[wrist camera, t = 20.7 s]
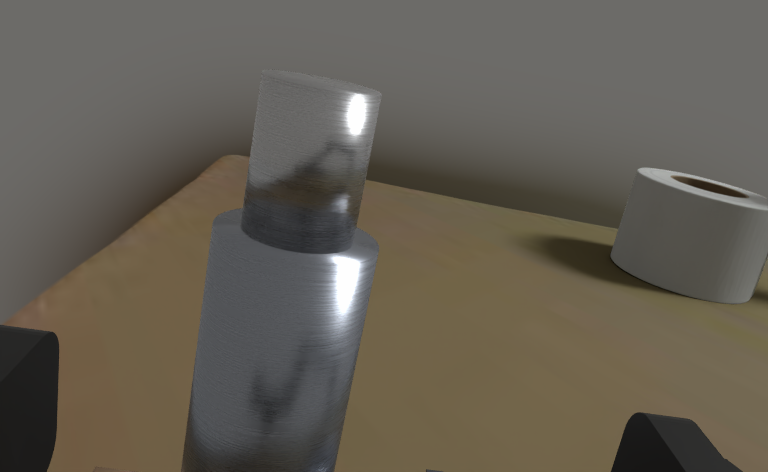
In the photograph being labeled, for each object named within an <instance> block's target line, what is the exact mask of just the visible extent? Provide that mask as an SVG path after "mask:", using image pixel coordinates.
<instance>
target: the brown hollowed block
mask: <svg viewBox="0 0 768 472" xmlns="http://www.w3.org/2000/svg"><path fill="white" fill-rule="evenodd" d="M93 472H134V471H126V470H119V469H111V468H103V467H95V469H94V471H93Z"/></svg>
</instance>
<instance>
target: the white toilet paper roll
mask: <svg viewBox="0 0 768 472" xmlns="http://www.w3.org/2000/svg"><path fill="white" fill-rule="evenodd" d="M610 256H611V259H612V260H613V262H614V263H615V264H616V265H617V266H619V267H620V268H621V269H623V270H624V271H626V272H628V273H630V274H631V275H633V276H635V277H637V278H639V279H641V280H643V281H645V282H648V283H650V284H652V285H655V286H658V287H660V288H663V289H666V290H669V291H672V292H675V293H678V294H681V295H685V296H688V297H692V298H696V299H701V300H705V301H711V302H717V303H725V304H740V303H745V302H747V301H749V300H750V298H751V296H753V294H754V291H755V289H756V286H757V284H758V281H759V279H760V276H761V274H762V271H763V268H764V265H765V262H766V260H767V257H768V198H766V197H763V196H761V195H758V194H755V193H752V192H750V191H747V190H744V189H741V188H737V187H734V186H731V185H728V184H724V183H720V182H717V181H713V180H709V179H706V178H701V177H698V176H693V175H689V174H684V173H679V172H674V171H668V170H662V169H653V168H640V169H638V170H637V172H636V176H635V179H634V182H633V185H632V188H631V192H630V195H629V198H628V201H627V204H626V207H625V210H624V214H623V217H622V220H621V223H620V226H619V229H618V232H617V236H616V239H615V242H614V245H613V248H612V251H611V254H610Z"/></svg>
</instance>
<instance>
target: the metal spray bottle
mask: <svg viewBox="0 0 768 472" xmlns="http://www.w3.org/2000/svg"><path fill="white" fill-rule="evenodd" d="M381 95H382V94H381V92H379V91H376V90H374V89H371V88H368V87H365V86H361V85H357V84H353V83H349V82H345V81H341V80H336V79H331V78H326V77H321V76H315V75H310V74H303V73H297V72H289V71H281V70H263V71H262V76H261V83H260V90H259V97H258V104H257V112H256V118H255V125H254V133H253V140H252V147H251V154H250V161H249V168H248V175H247V183H246V190H245V197H244V204H243V208H241V209H235V210H230V211H227V212H224V213H222V214H220V215H218V216H217V217H216V218H215V219H214V221H213V226H212V233H211V241H210V249H209V257H208V265H207V272H206V280H205V288H204V296H203V304H202V311H201V319H200V327H199V335H198V343H197V350H196V358H195V366H194V374H193V382H192V390H191V397H190V405H189V413H188V421H187V429H186V436H185V444H184V452H183V460H182V468H181V472H334V469H335V464H336V459H337V454H338V449H339V444H340V440H341V435H342V430H343V425H344V420H345V415H346V410H347V405H348V400H349V395H350V390H351V385H352V380H353V375H354V370H355V365H356V360H357V356H358V351H359V346H360V341H361V336H362V331H363V326H364V321H365V316H366V311H367V306H368V301H369V296H370V291H371V286H372V281H373V277H374V272H375V267H376V262H377V257H378V252H379V245H378V243H377V242H376V240H375V239H374V238H373V237H372V236H370V235H369V234H368V233H366V232H364V231H363V230H361V229H359V228H357V221H358V216H359V211H360V206H361V200H362V195H363V190H364V185H365V179H366V174H367V169H368V163H369V158H370V153H371V148H372V143H373V137H374V132H375V127H376V122H377V116H378V110H379V106H380V101H381Z"/></svg>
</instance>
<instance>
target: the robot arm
mask: <svg viewBox="0 0 768 472" xmlns="http://www.w3.org/2000/svg"><path fill="white" fill-rule="evenodd" d="M58 371H59V342H58V338H57V336H56V334H55V333H53V332H49V331H42V330H34V329H27V328H20V327H12V326H5V325H0V472H47V469H48V467H49V464H50V461H51V458H52V455H53V451H54V446H55V441H56V431H57V401H58ZM611 472H742V471H741V470H740V469H739V468H737V467H736V466H735V465H733V464H732V463H731V462H729V461H728V460H727V459H724V458H723V457H722V456H721V454H720V453H719V452H718V451H717V449H716V448H715V447H714V446H713V444H712V443H711V442H710V441H709V439H708V438H707V437H706V436H705V434H704V433H703V432H702V431H701V429H700V428H699V427H698V426H697V424H696V423H695V422H693V421H692V420H690V419H685V418H678V417H670V416H663V415H655V414H648V413H641V412H639V413H635V414H634V415H632V416H631V418H630V419H629V420H628V422H627V424H626V427H625V430H624V433H623V436H622V439H621V442H620V445H619V448H618V451H617V455H616V458H615V461H614V464H613V467H612V470H611Z"/></svg>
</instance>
